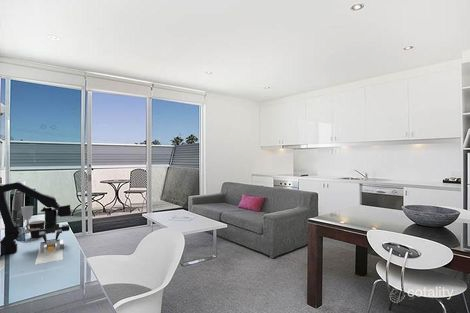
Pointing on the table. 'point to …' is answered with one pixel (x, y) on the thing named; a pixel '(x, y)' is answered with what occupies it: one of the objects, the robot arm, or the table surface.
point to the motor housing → (59, 246)
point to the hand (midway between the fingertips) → (51, 244)
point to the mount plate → (49, 255)
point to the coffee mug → (36, 225)
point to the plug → (50, 246)
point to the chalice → (27, 215)
